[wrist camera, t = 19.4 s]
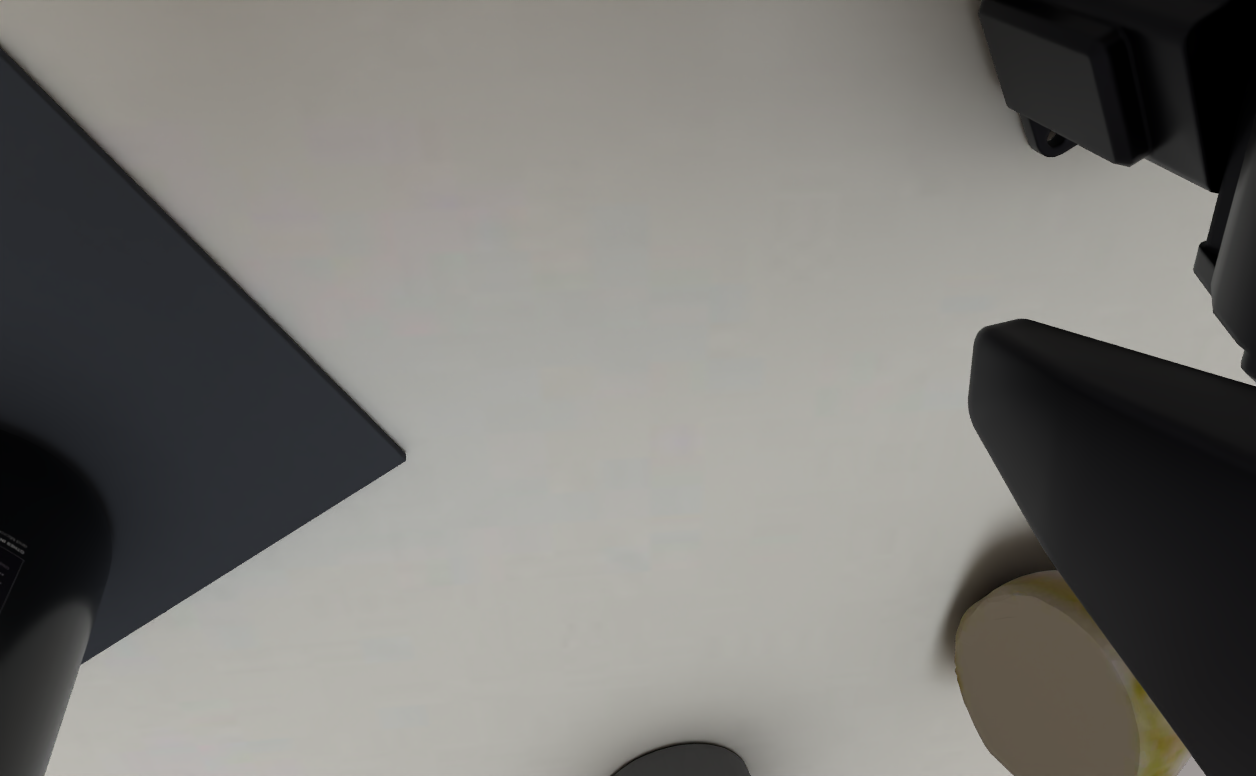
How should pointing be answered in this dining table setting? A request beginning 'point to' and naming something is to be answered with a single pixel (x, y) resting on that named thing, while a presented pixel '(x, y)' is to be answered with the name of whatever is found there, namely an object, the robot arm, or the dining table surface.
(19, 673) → the supplement bottle
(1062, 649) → the mug
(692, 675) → the dining table surface
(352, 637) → the dining table surface
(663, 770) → the bottle
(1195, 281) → the dining table surface
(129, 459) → the mat
